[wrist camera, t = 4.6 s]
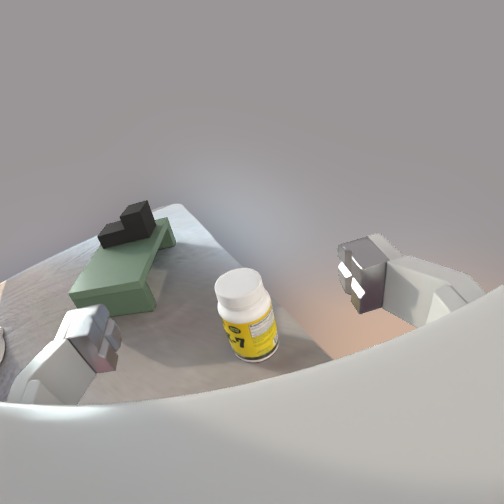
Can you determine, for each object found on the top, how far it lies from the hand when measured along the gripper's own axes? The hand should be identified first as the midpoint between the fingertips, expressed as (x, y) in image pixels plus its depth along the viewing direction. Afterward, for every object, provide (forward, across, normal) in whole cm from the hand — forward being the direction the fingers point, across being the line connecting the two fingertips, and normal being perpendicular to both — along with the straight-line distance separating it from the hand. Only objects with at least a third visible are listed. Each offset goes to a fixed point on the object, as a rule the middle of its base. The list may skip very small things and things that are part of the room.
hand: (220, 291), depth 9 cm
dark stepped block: (+36, +17, +12) cm, 41 cm away
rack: (+31, +17, +17) cm, 39 cm away
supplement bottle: (+12, 0, +17) cm, 21 cm away
